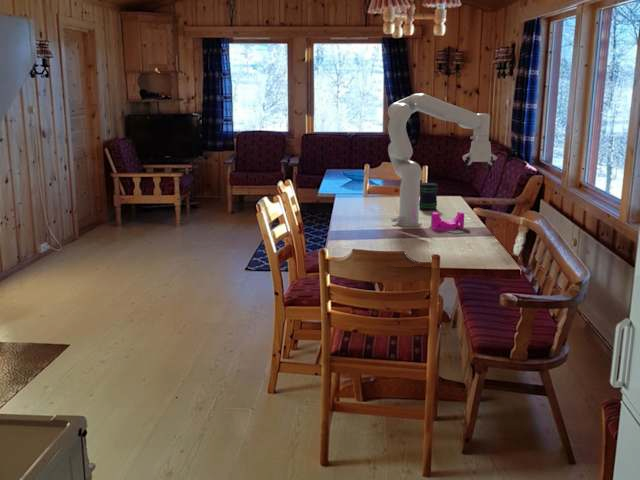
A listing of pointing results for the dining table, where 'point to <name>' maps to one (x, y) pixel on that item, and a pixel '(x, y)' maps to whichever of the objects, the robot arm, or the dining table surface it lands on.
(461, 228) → the stop rail
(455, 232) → the felt mat
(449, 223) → the toy block
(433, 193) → the storage jar
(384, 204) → the dining table surface
